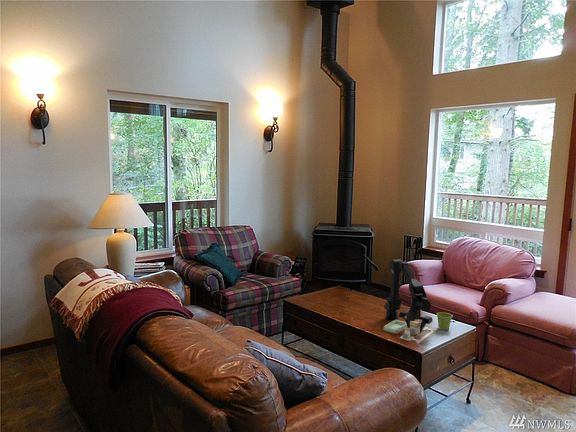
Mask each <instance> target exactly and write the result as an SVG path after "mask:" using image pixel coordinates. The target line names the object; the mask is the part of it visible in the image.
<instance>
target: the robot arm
mask: <svg viewBox="0 0 576 432" xmlns="http://www.w3.org/2000/svg"><path fill="white" fill-rule="evenodd" d="M388 264H389V270H390V272H391V280H390V281H391V282H390V294H389V296H388V297H387V301H386V302H385V303H384V306H383V307H384V310H386V313H385V317H384V318H385V319H387V320H391V321H394V320H399V318H402V320H404V322H406V324H407V327H408V328H410V322H411V321H417V320H419V321H420V320H422V322H421V323H420V324H421V326H420V333H419V334H421V333H422V332H423V328H424V326H425V327H426V325H430V324H431V323H433V317H431V316H429V315H425V316H422V313H421V312H422V310H423V311H425V312H427V311H429V310H431V308H432V305H431V302H430V301H429V299H428V298H427V292H426V289H425V287H424V285H422V283H421V282H420V281H419V280H417V278H416V276H415V275H414V272H413V271H412V269H411V267H410V263H409V262H407V261H406V260H405V261H403V260H402V259H391V260H390V261H389V263H388ZM401 273H403V276H404V277H405V279H406V281H407V283H408V291H409V292H410V294H409V297H410V298H411V300H410V306H409V310H401V311H400V308H401V305H402V299H401V298H400V296H399V291H400V275H401ZM398 310H399V312H398ZM425 324H426V325H425Z"/></svg>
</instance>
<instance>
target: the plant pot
mask: <svg viewBox="0 0 576 432" xmlns="http://www.w3.org/2000/svg"><path fill="white" fill-rule="evenodd" d="M436 317H437V323H438V324H437V325H438V328H439V330H443V331H447V330H448V331H449V330H450V327H451V322H452V318H453V314H451V313H448V312H442V311H441V312H437V313H436Z"/></svg>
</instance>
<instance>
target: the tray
mask: <svg viewBox="0 0 576 432" xmlns="http://www.w3.org/2000/svg"><path fill="white" fill-rule="evenodd" d="M405 327H407V324H406V322H405V321H403V320H399V319H396V320H391V322H389V323H387V324H385V325H384V326H383V327H382V330H383V331H385V332H387V333H390V334H391V333H392V334H394V335H398V334H399V333H401V332H402V331H405V329H404V328H405Z"/></svg>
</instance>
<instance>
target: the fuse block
mask: <svg viewBox="0 0 576 432" xmlns="http://www.w3.org/2000/svg"><path fill="white" fill-rule="evenodd" d="M419 322H420V323H421V322H422V320H419ZM426 325H427V324H425V326H424V328H423V330H422V332H423V331H424V332H425V331H429V332H428V333H426V334H425V335H424V336H422V337H421V338H419V339H418V338H417V339H416V338H415V337H414V336H416V335H415V330H414V329H410V328H408V327H405V328H404V333H402V335H400V337H399V339H401V340H405V341H408V342H410V341H414V342H415V343H416V344H417V345H419V344H420V343H422V342H423V341H425V339H428V338H429V337H430V336H431V335H433V334H435V333H436V332H437V328H434V329H431V328H429V326H426ZM420 326H421V324H420ZM419 331H420V330H419Z"/></svg>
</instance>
